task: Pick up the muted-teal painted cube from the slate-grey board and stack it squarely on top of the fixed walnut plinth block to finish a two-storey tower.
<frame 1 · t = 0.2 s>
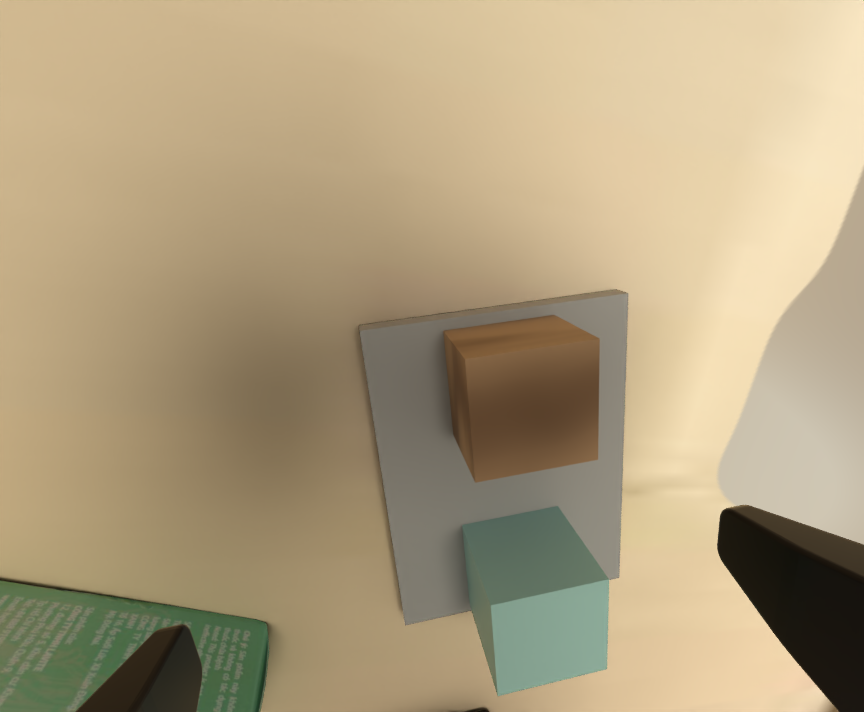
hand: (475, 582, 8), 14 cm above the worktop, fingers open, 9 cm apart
teal block: (512, 555, 24), point 1 cm above the worktop, touching board
box: (124, 649, 24), on the worktop
walnut base: (502, 376, 21), resting on board
board: (501, 461, 24), on the worktop
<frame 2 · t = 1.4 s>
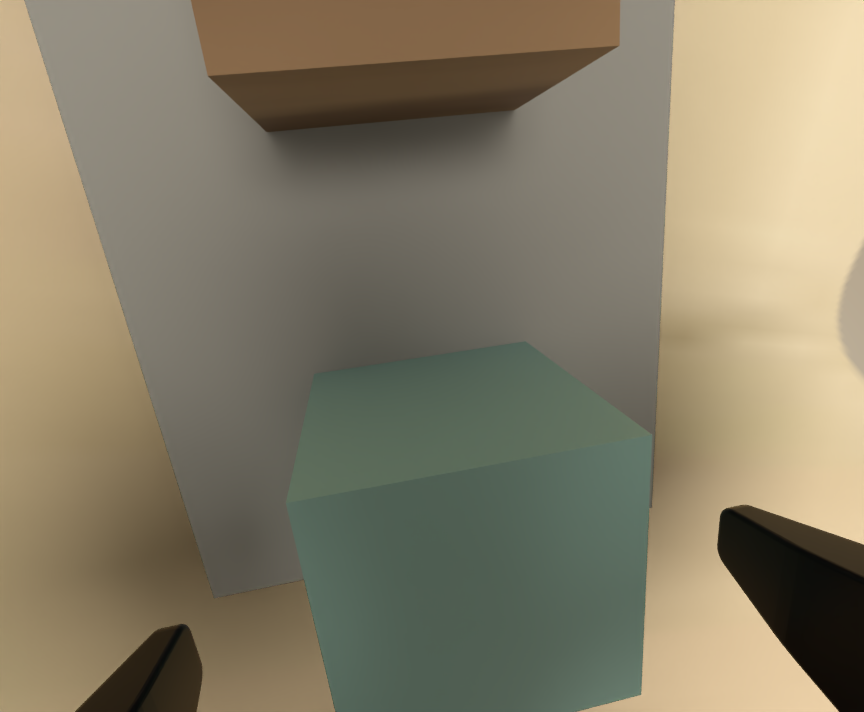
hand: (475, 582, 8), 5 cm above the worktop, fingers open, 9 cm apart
teal block: (434, 451, 12), point 1 cm above the worktop, touching board
board: (404, 244, 11), on the worktop
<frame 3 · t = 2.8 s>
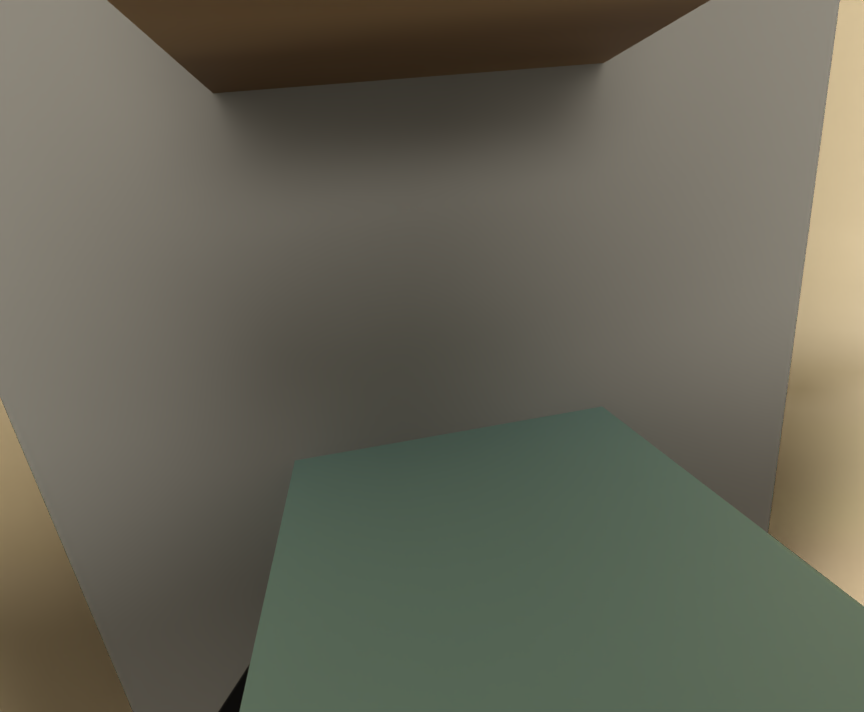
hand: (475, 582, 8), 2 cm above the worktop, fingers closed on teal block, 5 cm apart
teal block: (468, 560, 8), point 1 cm above the worktop, touching board, gripper
board: (427, 267, 8), on the worktop
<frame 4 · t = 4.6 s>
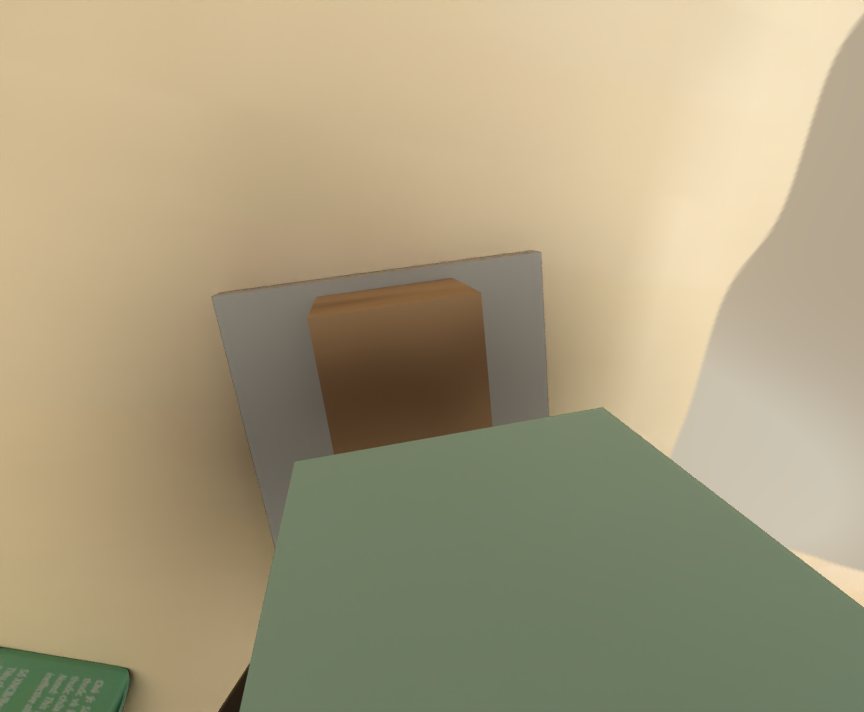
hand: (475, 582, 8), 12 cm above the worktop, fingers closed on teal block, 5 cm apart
teal block: (468, 561, 8), point 12 cm above the worktop, touching gripper
walnut base: (395, 352, 18), resting on board
board: (408, 456, 20), on the worktop
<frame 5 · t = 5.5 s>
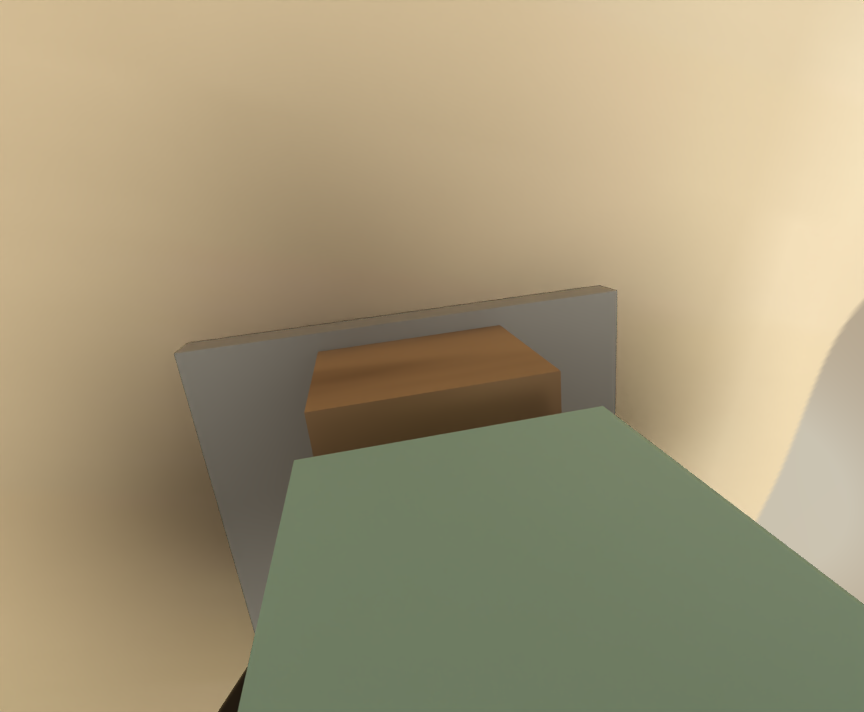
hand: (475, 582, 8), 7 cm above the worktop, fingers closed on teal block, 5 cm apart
teal block: (468, 560, 8), point 7 cm above the worktop, touching gripper
walnut base: (421, 421, 14), resting on board
board: (433, 541, 16), on the worktop
when the fingers open (7 cm above the worktop, at t = 6.4 s): teal block drops 1 cm, resting on walnut base.
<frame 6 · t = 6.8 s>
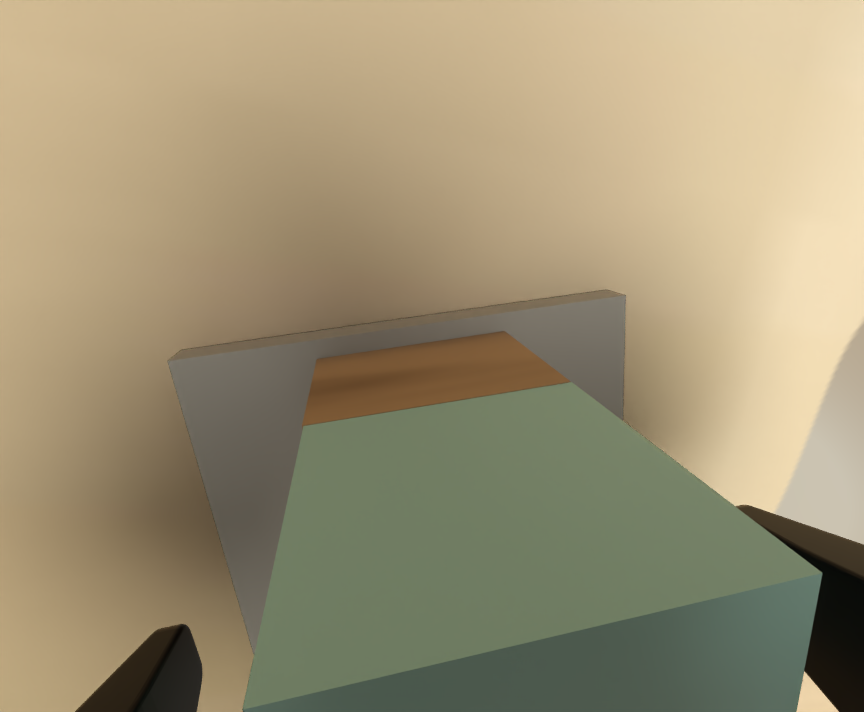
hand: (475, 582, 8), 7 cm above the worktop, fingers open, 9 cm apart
teal block: (454, 518, 9), point 5 cm above the worktop, touching walnut base
walnut base: (423, 430, 13), resting on board
board: (435, 552, 16), on the worktop
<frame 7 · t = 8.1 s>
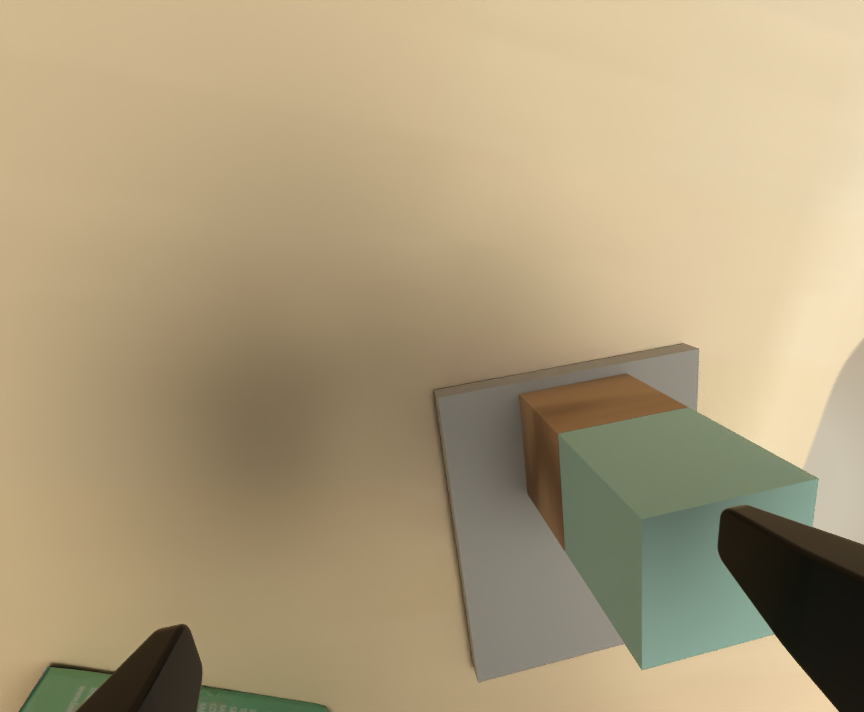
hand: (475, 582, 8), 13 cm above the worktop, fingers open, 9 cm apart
teal block: (625, 481, 17), point 5 cm above the worktop, touching walnut base
walnut base: (576, 434, 21), resting on board
board: (571, 515, 24), on the worktop
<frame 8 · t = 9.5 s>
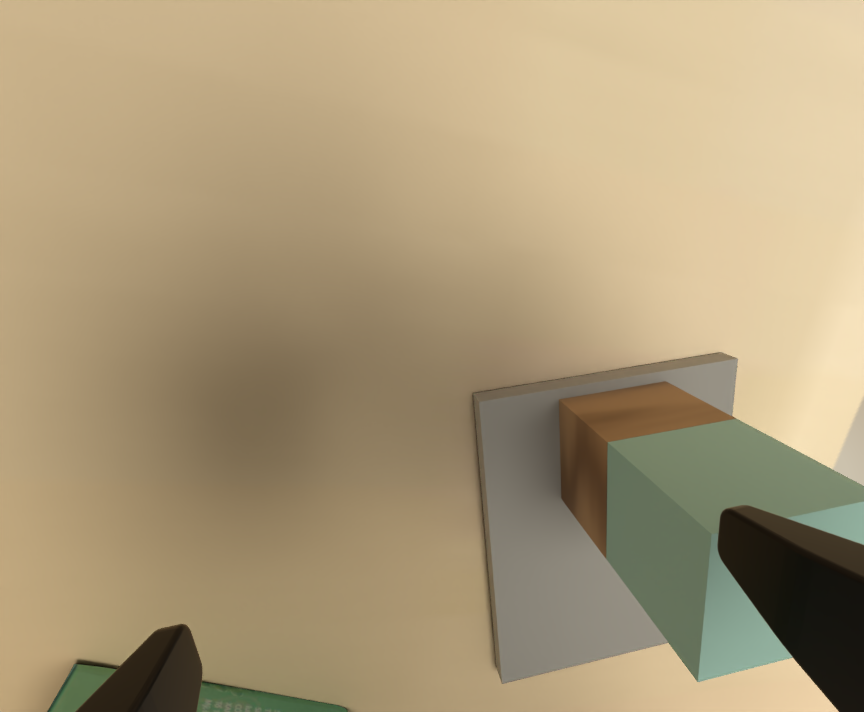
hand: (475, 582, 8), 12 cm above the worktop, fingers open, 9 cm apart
teal block: (669, 490, 18), point 5 cm above the worktop, touching walnut base
walnut base: (612, 441, 21), resting on board
board: (600, 520, 24), on the worktop
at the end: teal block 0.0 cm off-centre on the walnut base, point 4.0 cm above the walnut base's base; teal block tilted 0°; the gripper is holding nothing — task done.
